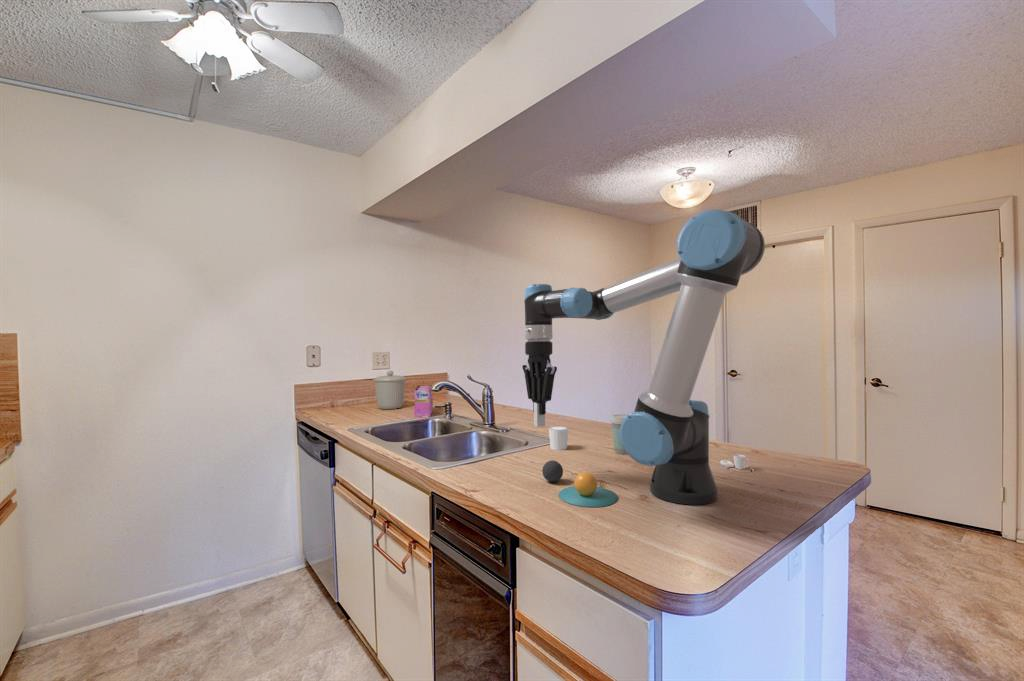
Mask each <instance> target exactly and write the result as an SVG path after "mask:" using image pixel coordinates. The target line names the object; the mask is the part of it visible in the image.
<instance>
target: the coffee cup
mask: <svg viewBox="0 0 1024 681" xmlns="http://www.w3.org/2000/svg"><path fill="white" fill-rule="evenodd" d="M628 415H629V414H624V413H623V414H619V413H618V414H613V415H612V416H611V419H610V423H611V429H612V438H613V445H614V452H615V454H618V453H619V454H618V455H624V454H627V452H626V451H625V448H624V446H623V445H622V443H621V439H620V427H621V424H622V422H623V420H624V419H625V418H626V417H627V416H628ZM627 455H628V454H627Z"/></svg>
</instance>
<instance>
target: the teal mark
mask: <svg viewBox="0 0 1024 681" xmlns="http://www.w3.org/2000/svg"><path fill="white" fill-rule="evenodd" d="M558 498H559V499H560V500H561V501H563V502H564V503H566V504H569V505H571V506H577V507H582V508H602V507H608V506H611V505H613V504H615V503H617V502H618V499H619V496H618V495H617V493H616V492H614V491H613V490H610V489H607V488H604V487H601V486H597V489H596V491H595V492H594V493H593V494H592V495H590V496H583V495H581V494H579V493H578V492H577V491H576V489H575V486H568V487H565V488H562V489H561V490H560V491H559V492H558Z"/></svg>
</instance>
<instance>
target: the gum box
mask: <svg viewBox="0 0 1024 681" xmlns="http://www.w3.org/2000/svg"><path fill="white" fill-rule="evenodd" d="M431 389H432V391H431ZM413 395H414V418H415V417H419V418H424V417H423V416H430V417H431V416H432V414H433V411H432V410H434V407H433V406H434V402H433V400H434V399H433V385H432V384H430V385H429V386H426V385H425V386H422V385H417V386H416V388H415V389H414V394H413ZM431 413H432V414H431Z"/></svg>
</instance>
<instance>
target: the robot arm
mask: <svg viewBox="0 0 1024 681" xmlns="http://www.w3.org/2000/svg"><path fill="white" fill-rule="evenodd" d="M765 247H766V245H765V237H764V236H763V233H762V232H761V230H760V229H759V227H757V226H756V225H754V224H753V223H751V222H749V221H746V220H745V219H743V218H741V217H740V216H739V215H738V214H736V213H735V212H730V211H727V210H724V209H715V208H714V209H708V210H704V211H701V212H699V213H697V214H695V215H694V216H693V217H691V218H689V219H688V220H687V221H686V223H685V224H683V226H682V228H681V230H680V231H679V234H678V236H677V241H676V250H677V253H678V256H679V257H677V258H675V259H672V260H670V261H667V262H665V263H662V264H660V265H657V266H655V267H652V268H649V269H647V270H645V271H643V272H639V273H637V274H634V275H632V276H629V277H628V278H624V279H622V280H620V281H618V282H615V283H613V284H610V285H607V286H605V287H603V288H600V289H598V290H594V291H590V290H589V291H588V290H587V289H586V288H585V287H569V288H565V289H564V288H563V289H557V290H555V289H554V290H553V288H552V285H551V284H548V283H535V284H533V283H531V284H528V285H527V286H526V287H525V289H524V301H523V302H524V319H525V320H524V323H525V324H524V325H525V327H524V328H525V331H524V332H525V335H524V336H525V340H527V341H525V344H524V348H525V349H524V350H525V351H524V352H525V353H524V354H525V355H526V356H528V358H527V363H526V364H522V366H521V367H522V370H523V373H524V378H525V379H524V380H525V385H526V391H527V399H529V400H531V401H532V410H533V411H532V412H533V427H537V428H539V427H544V426H546V413H547V411H546V410H547V407H546V404H547V402H551V401H552V394H553V388H554V383H555V382H554V381H555V376H556V373H557V370H558V367H557V366H553V365H552V360H551V357H550V356H551V355H552V354H553V342H552V341H551V340H552V339H553V319H585V320H587V319H588V320H597V321H598V320H599V321H600V320H605V319H609V318H611V317H612V316H614V315H615V313H617V312H621V311H624V310H627V309H630V308H633V307H636V306H638V305H641V304H644V303H647V302H650V301H653V300H656V299H660V298H662V297H665V296H668V295H671V294H673V293H677V292H678V295H677V298H676V301H675V303H674V307H673V310H672V314H671V317H670V319H669V323H668V326H667V330H666V332H665V335H664V339H663V342H662V346H661V348H660V352H659V355H658V358H657V361H656V364H655V366H654V367H655V368H654V370H653V373H652V374H653V375H652V377H651V380H650V383H649V387H648V389H647V390H646V391H644V392H641V393H640V394H639V395H638V398H637V401H636V404H635V407H634V411H633V412H632V413H629V414H627V415H628V416H627V417H626V418H625V419H624V420H623V422H622V424H621V427H620V439H621V443H622V445H623V446H624V448H625V451H626V452H627V455H628V456H629V457H630V458H631V459H632V460H634V462H636V463H638V464H640V465H643V466H645V467H647V466H648V467H654V469H653V472H652V476H651V479H650V482H649V483H650V486H649V487H650V489H649V490H650V493H651V494H652V495H653V496H654V497H656V498H659V499H661V500H663V501H668V502H670V503H674V504H682V505H690V506H691V505H693V506H694V505H696V506H698V505H706V504H707V505H708V504H711V503H714V502H715V501H717V499H718V487H717V485H716V482H715V479H714V475H713V472H712V470H711V466H710V462H709V461H710V456H709V455H710V453H709V452H710V450H709V449H710V436H709V435H710V432H709V430H710V429H709V428H710V424H709V423H710V420H709V419H710V414H709V406H708V404H707V403H706V402H705V401H702V400H692V399H691V397H692V394H693V392H694V389H695V385H696V383H697V380H698V377H699V373H700V371H701V369H702V368H701V367H702V365H703V362H704V359H705V357H706V353H707V350H708V347H709V344H710V342H711V339H712V336H713V332H714V329H715V326H716V324H717V320H718V318H719V315H720V312H721V309H722V306H723V303H724V300H725V297H726V295H727V294H728V293H730V292H732V291H734V290H735V289H737V288H738V285H739V282H740V280H741V276H744V275H746V274H748V273H749V272H751V271H752V270H754V269H755V268H756V267H757V266H758V265H759V263H760V262H761V260H762V259H763V256H764V253H765V250H766V248H765Z"/></svg>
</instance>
